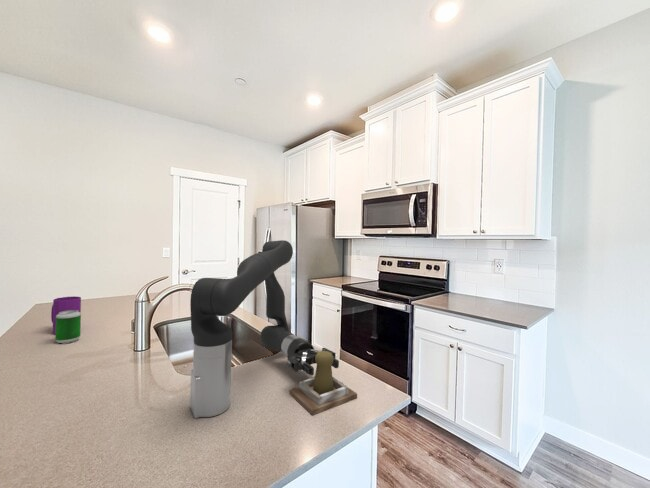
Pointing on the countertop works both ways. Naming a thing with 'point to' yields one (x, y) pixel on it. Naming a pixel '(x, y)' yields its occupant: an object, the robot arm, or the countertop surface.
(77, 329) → the soda can
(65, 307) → the mug
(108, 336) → the countertop surface
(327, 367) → the olive pawn figure
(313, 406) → the spice dock
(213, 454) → the countertop surface
